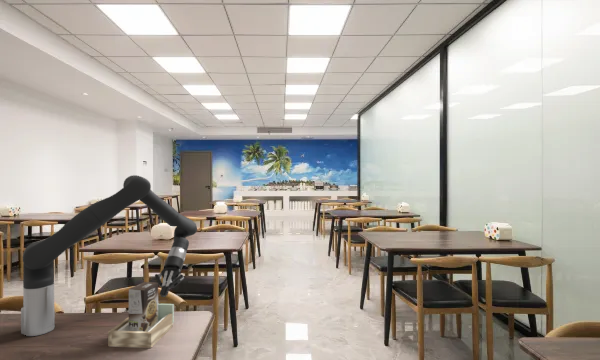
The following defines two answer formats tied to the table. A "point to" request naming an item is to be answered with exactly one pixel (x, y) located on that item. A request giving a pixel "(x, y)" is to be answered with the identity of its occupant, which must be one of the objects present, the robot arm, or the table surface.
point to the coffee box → (143, 306)
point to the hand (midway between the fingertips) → (162, 296)
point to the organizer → (139, 335)
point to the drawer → (162, 313)
